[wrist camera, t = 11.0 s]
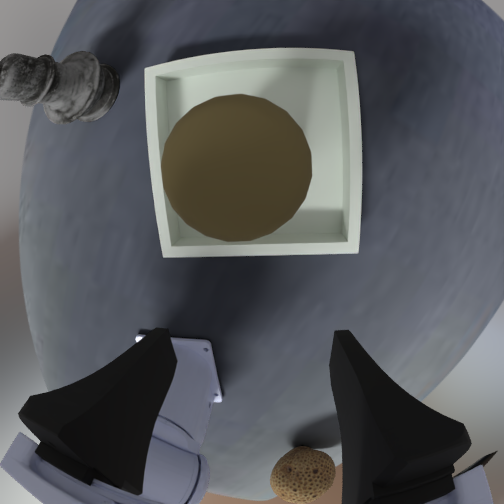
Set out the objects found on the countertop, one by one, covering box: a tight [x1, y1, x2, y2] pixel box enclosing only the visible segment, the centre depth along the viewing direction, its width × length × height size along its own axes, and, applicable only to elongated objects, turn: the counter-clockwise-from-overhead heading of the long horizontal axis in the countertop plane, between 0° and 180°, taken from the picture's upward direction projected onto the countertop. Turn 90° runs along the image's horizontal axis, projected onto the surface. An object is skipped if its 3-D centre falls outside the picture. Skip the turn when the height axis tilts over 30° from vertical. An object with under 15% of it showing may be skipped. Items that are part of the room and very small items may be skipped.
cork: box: [161, 94, 312, 242], centre depth 13 cm, size 6×6×11 cm
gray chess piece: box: [0, 51, 119, 124], centre depth 11 cm, size 6×6×12 cm
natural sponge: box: [270, 446, 335, 504], centre depth 27 cm, size 9×9×10 cm
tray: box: [145, 48, 362, 258], centre depth 17 cm, size 14×14×2 cm
